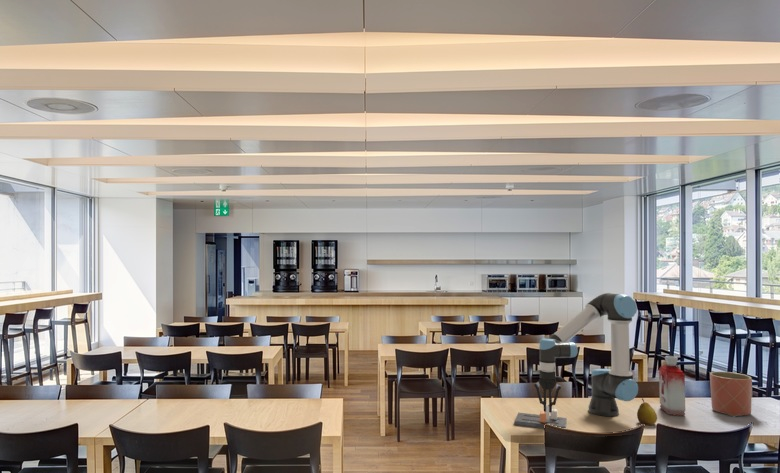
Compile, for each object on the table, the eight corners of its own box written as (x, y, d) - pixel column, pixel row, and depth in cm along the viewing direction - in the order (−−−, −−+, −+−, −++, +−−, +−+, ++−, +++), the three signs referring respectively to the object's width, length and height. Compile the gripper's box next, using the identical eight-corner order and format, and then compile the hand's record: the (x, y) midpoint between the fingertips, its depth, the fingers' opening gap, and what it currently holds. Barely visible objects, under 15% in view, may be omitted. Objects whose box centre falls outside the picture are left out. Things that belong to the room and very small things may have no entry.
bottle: (687, 416, 266) (686, 359, 268) (666, 415, 268) (665, 358, 270) (677, 408, 280) (676, 354, 282) (657, 407, 282) (656, 353, 284)
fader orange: (546, 420, 251) (546, 412, 252) (546, 422, 248) (545, 414, 248) (540, 419, 252) (540, 411, 253) (539, 421, 249) (539, 413, 249)
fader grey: (557, 417, 256) (557, 409, 256) (556, 419, 252) (556, 411, 253) (550, 416, 257) (550, 408, 257) (550, 418, 254) (550, 410, 254)
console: (566, 421, 256) (566, 417, 256) (565, 431, 242) (565, 426, 242) (518, 416, 265) (518, 412, 265) (514, 424, 251) (514, 420, 251)
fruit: (659, 427, 249) (658, 402, 250) (639, 425, 252) (638, 401, 252) (655, 421, 258) (654, 398, 258) (635, 420, 260) (635, 396, 261)
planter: (727, 406, 286) (726, 370, 287) (761, 416, 268) (760, 378, 269) (702, 408, 281) (701, 372, 282) (735, 419, 263) (734, 380, 263)
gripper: (561, 370, 251) (562, 418, 250) (534, 367, 256) (534, 414, 255) (561, 373, 244) (561, 422, 243) (533, 370, 249) (533, 419, 248)
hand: (547, 418), depth 249 cm, fingers closed
